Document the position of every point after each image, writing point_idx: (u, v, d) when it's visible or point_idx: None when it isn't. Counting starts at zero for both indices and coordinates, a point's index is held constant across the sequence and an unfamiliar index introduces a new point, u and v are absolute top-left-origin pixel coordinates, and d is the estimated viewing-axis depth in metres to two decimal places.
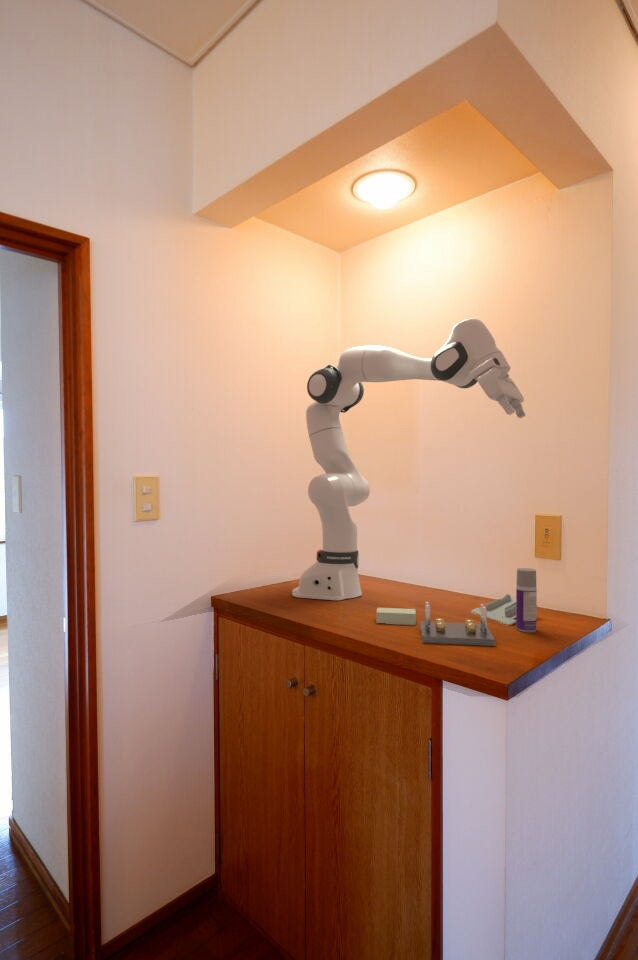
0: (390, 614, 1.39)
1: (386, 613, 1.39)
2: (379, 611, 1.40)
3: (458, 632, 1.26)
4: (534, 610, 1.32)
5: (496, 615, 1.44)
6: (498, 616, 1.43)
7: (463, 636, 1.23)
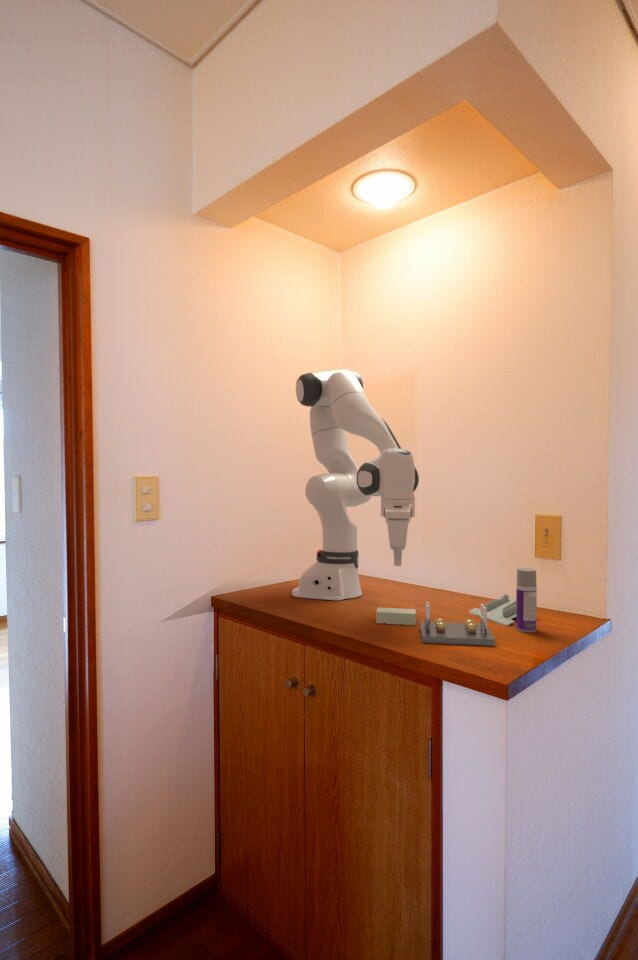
0: (390, 614, 1.39)
1: (386, 613, 1.39)
2: (379, 611, 1.41)
3: (458, 632, 1.26)
4: (534, 610, 1.32)
5: (494, 615, 1.44)
6: (496, 616, 1.43)
7: (463, 636, 1.23)
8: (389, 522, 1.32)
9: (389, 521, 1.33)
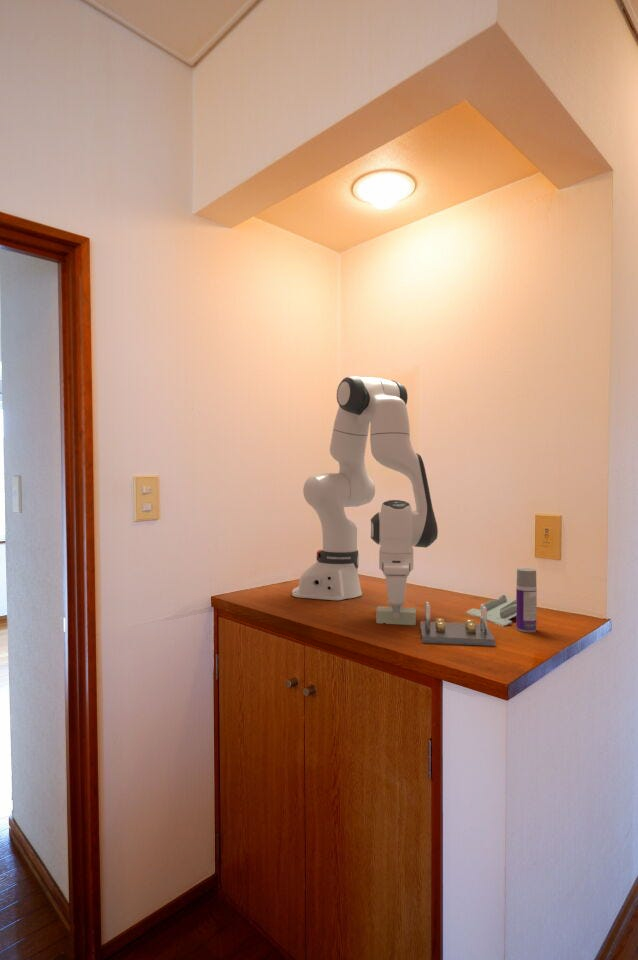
0: (390, 613, 1.39)
1: (386, 612, 1.39)
2: (379, 610, 1.41)
3: (458, 632, 1.26)
4: (534, 610, 1.32)
5: (491, 616, 1.44)
6: (493, 617, 1.43)
7: (463, 636, 1.23)
8: (388, 578, 1.33)
9: (388, 577, 1.33)
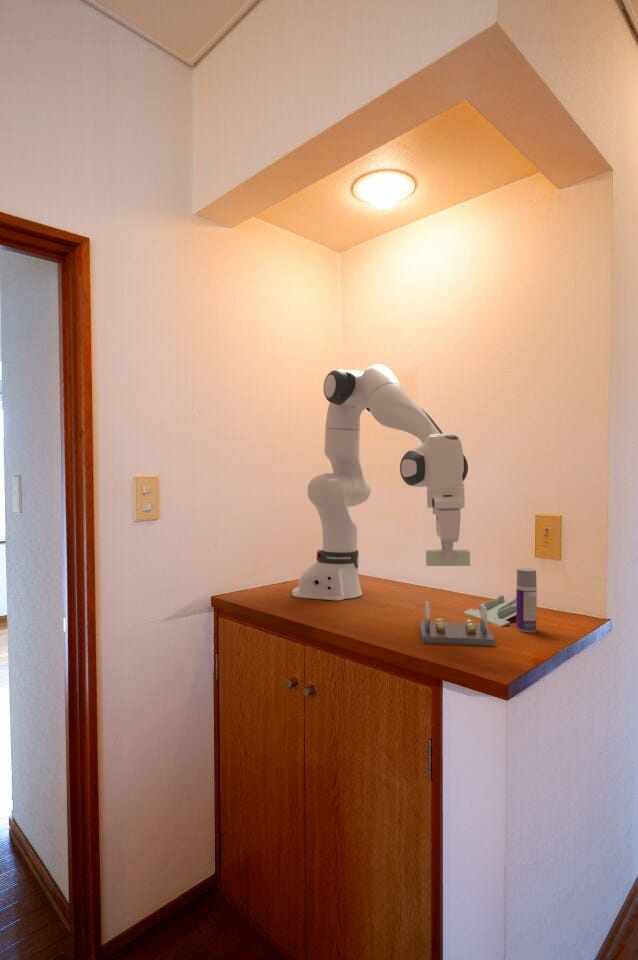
0: (441, 554, 1.27)
1: (437, 553, 1.28)
2: (429, 551, 1.29)
3: (458, 632, 1.26)
4: (534, 610, 1.32)
5: (489, 616, 1.43)
6: (491, 617, 1.42)
7: (463, 636, 1.23)
8: (440, 512, 1.21)
9: (440, 511, 1.22)
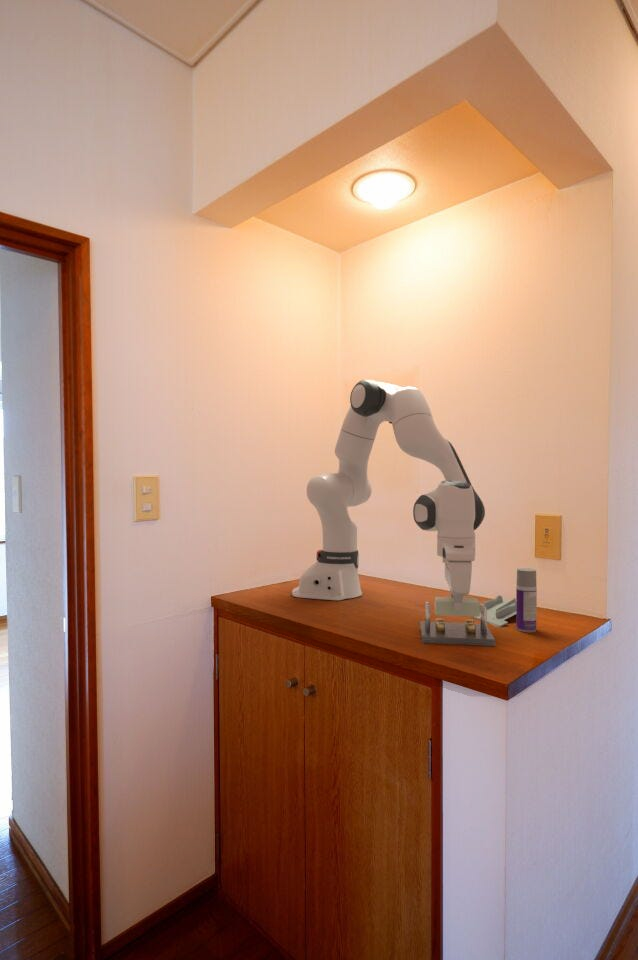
0: (451, 603, 1.26)
1: (446, 602, 1.26)
2: (438, 600, 1.27)
3: (458, 632, 1.26)
4: (534, 610, 1.32)
5: (487, 616, 1.43)
6: (489, 617, 1.42)
7: (463, 636, 1.23)
8: (451, 565, 1.20)
9: (451, 563, 1.20)
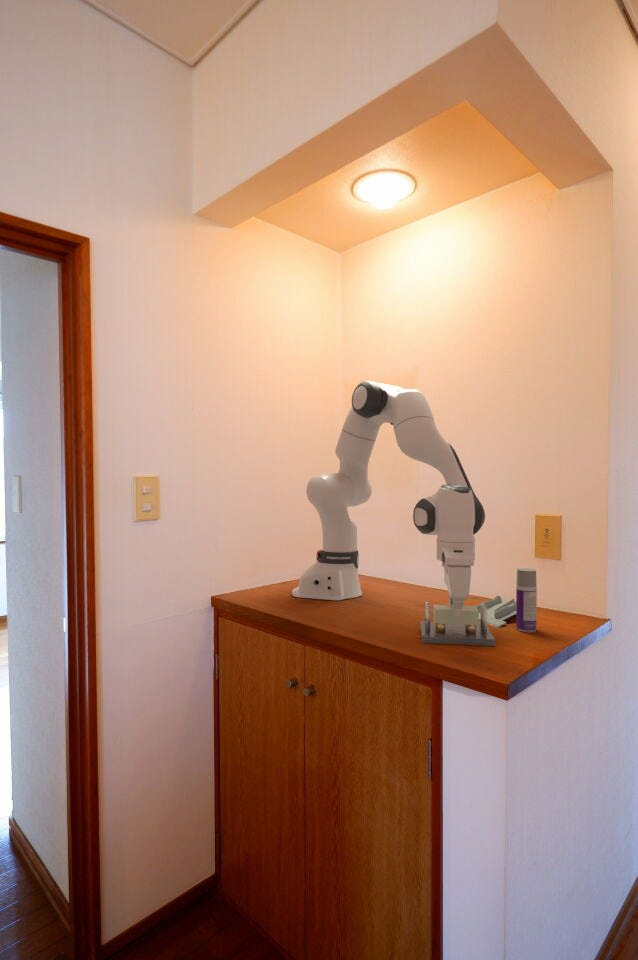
0: (450, 612, 1.26)
1: (445, 611, 1.26)
2: (437, 608, 1.28)
3: (458, 632, 1.26)
4: (534, 610, 1.32)
5: None
6: (488, 617, 1.42)
7: (463, 636, 1.23)
8: (450, 569, 1.20)
9: (450, 568, 1.20)
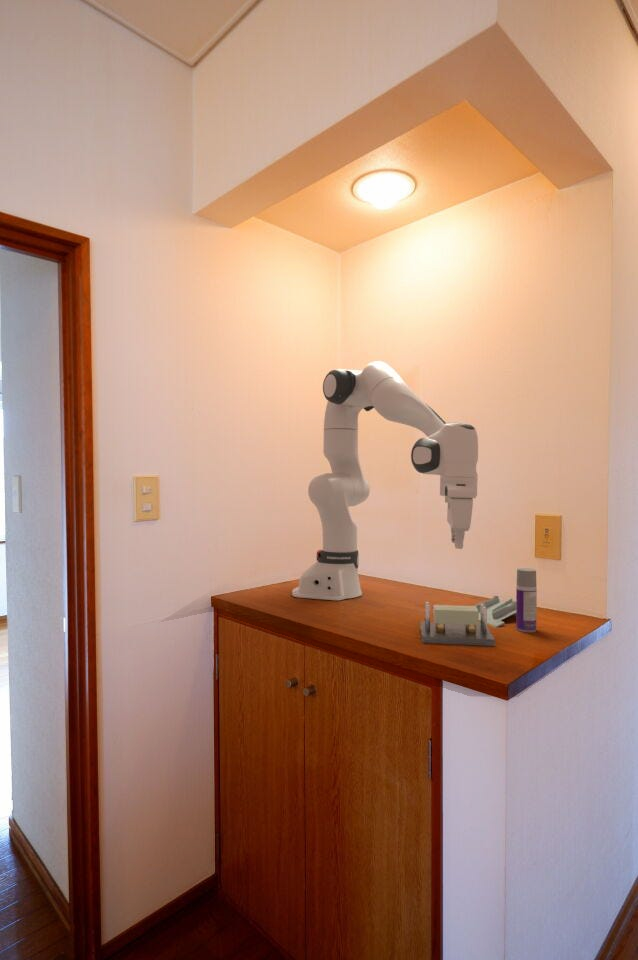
0: (450, 612, 1.26)
1: (445, 611, 1.26)
2: (437, 608, 1.28)
3: (458, 632, 1.26)
4: (534, 610, 1.32)
5: None
6: None
7: (463, 636, 1.23)
8: (452, 501, 1.23)
9: (452, 500, 1.23)
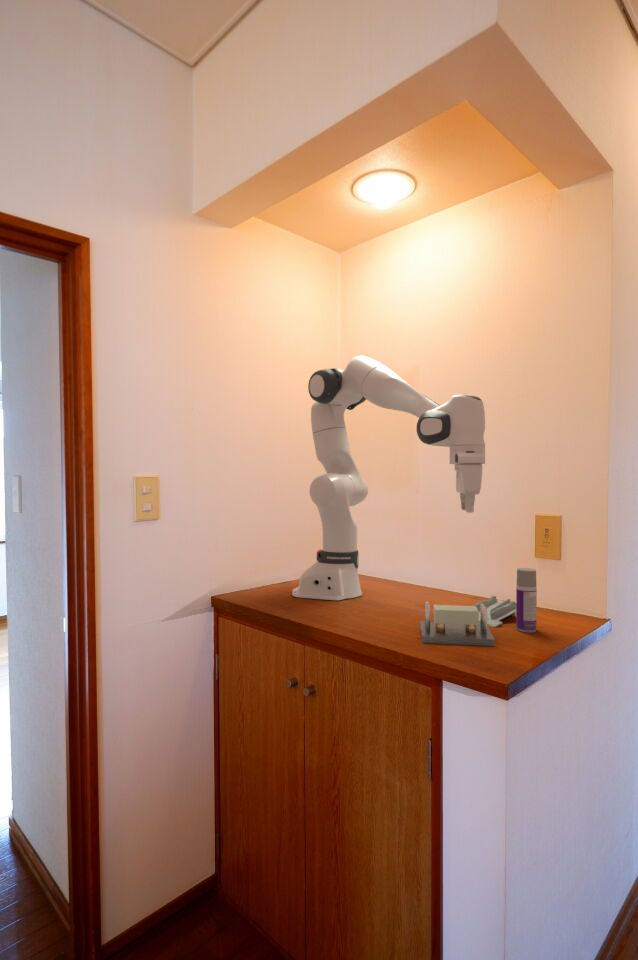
0: (450, 612, 1.26)
1: (445, 611, 1.26)
2: (437, 608, 1.28)
3: (458, 632, 1.26)
4: (534, 610, 1.32)
5: None
6: None
7: (463, 636, 1.23)
8: (463, 466, 1.30)
9: (463, 465, 1.30)
